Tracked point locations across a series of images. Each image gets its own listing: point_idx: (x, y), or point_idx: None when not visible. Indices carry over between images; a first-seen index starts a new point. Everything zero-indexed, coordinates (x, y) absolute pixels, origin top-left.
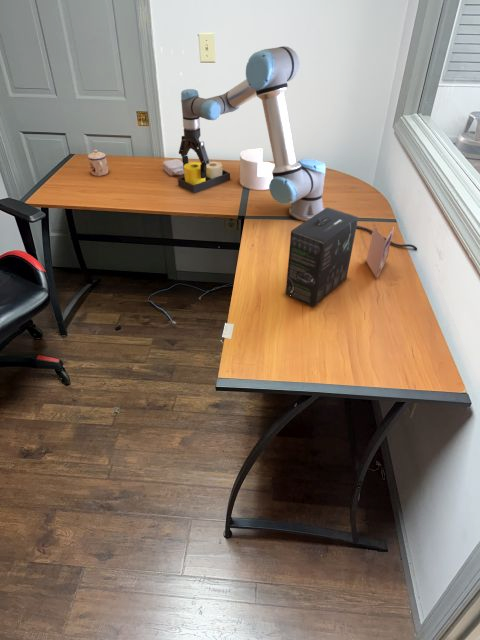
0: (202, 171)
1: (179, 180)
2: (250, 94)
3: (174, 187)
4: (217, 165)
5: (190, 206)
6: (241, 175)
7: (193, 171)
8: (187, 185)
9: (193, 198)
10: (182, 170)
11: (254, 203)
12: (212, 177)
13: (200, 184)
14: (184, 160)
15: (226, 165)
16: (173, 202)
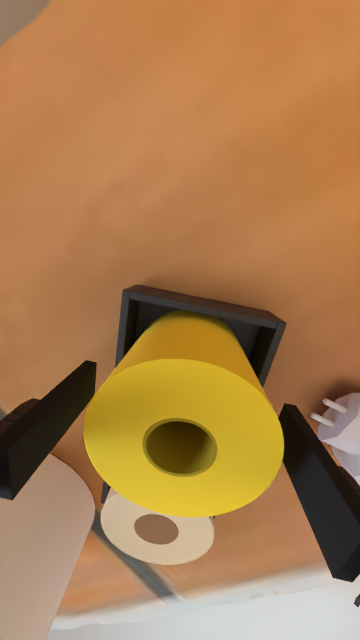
0: (49, 398)
1: (266, 317)
2: None
3: (276, 282)
4: (127, 531)
5: (28, 132)
6: (17, 496)
7: (122, 365)
8: (184, 299)
9: (94, 233)
10: (337, 434)
11: None
12: None
13: (119, 341)
14: (330, 491)
15: (216, 553)
16: (141, 100)
